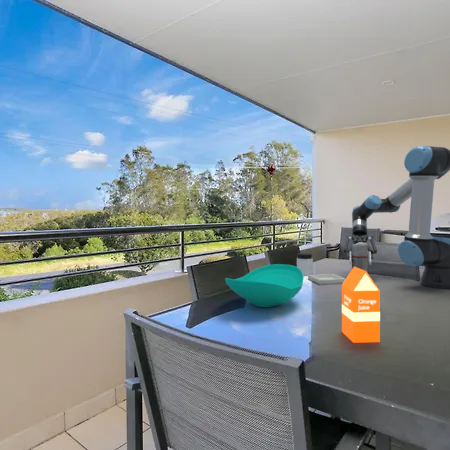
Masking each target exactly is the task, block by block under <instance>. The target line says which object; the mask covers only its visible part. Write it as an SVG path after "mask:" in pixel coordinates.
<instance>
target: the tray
mask: <svg viewBox="0 0 450 450" xmlns="http://www.w3.org/2000/svg"><path fill="white" fill-rule="evenodd" d="M307 278H308V279H307V280H308V281H311V282H312V283H315V284H316V285H319V286H324V285H325V286H327V285H342V284H343V282H344V281H345V279H346V278H345V277H343V276H339V275H337V274H334V273H323V274H320V273H319V274H313V275H308V276H307Z"/></svg>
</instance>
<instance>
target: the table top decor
mask: <svg viewBox="0 0 450 450" xmlns="http://www.w3.org/2000/svg"><path fill="white" fill-rule="evenodd" d="M304 277H305V276H303V273H302V271H301V270H300V269H299V268H298V267H297V265H296V266H295V265H292V264H283V263H282V264H281V263H277V264H276V263H275V264H267V265H262V266H259V267H257V268H255V269H253V270H251V271H250V272H248V273H247V274H245V275H244V276H241V277H239V278H235V279H233V278H229V277H226V278H224V280H225V284H226V285H227V286H228V288H230V290H231V291H233V292H234V293H235V294H237V295H238V296H239V297H241V298H243V299H244V300H246V301H248V302H249V303H251V304H253V305H254V306H256V307H260V308H271V307H276V306H279V305H282V304H284V303H288V302H290V301H291V300H292V299H293V298H294V297H295V296H297V294H299V292H300V291H301V289H302V288H303V285H304Z"/></svg>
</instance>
